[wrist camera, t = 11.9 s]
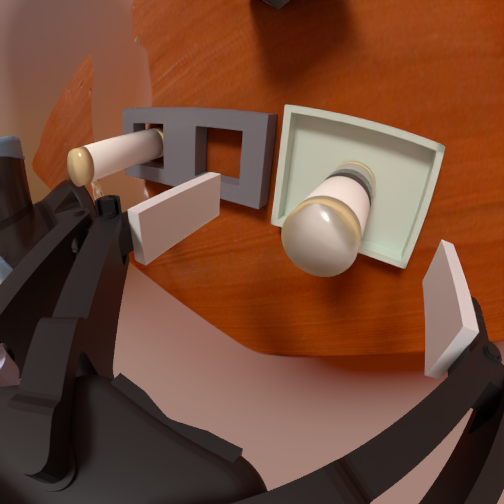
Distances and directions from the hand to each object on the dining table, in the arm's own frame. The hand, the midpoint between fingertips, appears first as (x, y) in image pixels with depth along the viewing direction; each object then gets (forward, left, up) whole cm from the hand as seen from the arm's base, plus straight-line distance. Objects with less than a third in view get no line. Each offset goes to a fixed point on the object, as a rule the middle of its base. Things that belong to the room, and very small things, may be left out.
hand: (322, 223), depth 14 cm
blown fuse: (0, 0, -10) cm, 10 cm away
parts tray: (0, 0, -10) cm, 10 cm away
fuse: (-23, 0, -10) cm, 25 cm away
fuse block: (-18, 0, -10) cm, 21 cm away
